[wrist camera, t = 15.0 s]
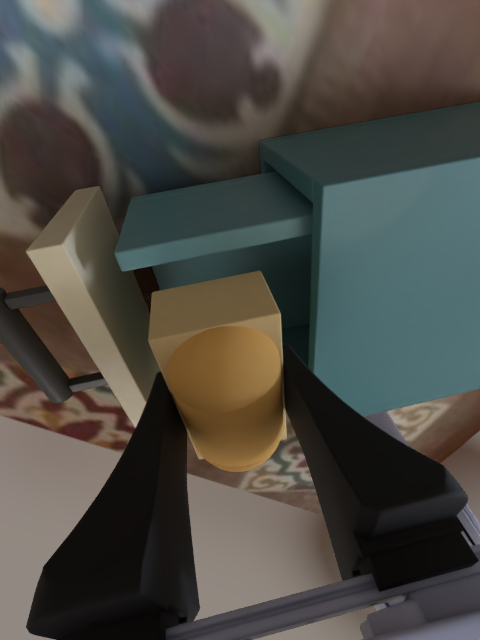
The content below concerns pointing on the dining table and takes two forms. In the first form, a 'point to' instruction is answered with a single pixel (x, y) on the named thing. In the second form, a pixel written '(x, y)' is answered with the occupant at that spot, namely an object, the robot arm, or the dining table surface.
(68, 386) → the drawer
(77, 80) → the dining table surface
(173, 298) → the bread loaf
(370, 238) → the cabinet
